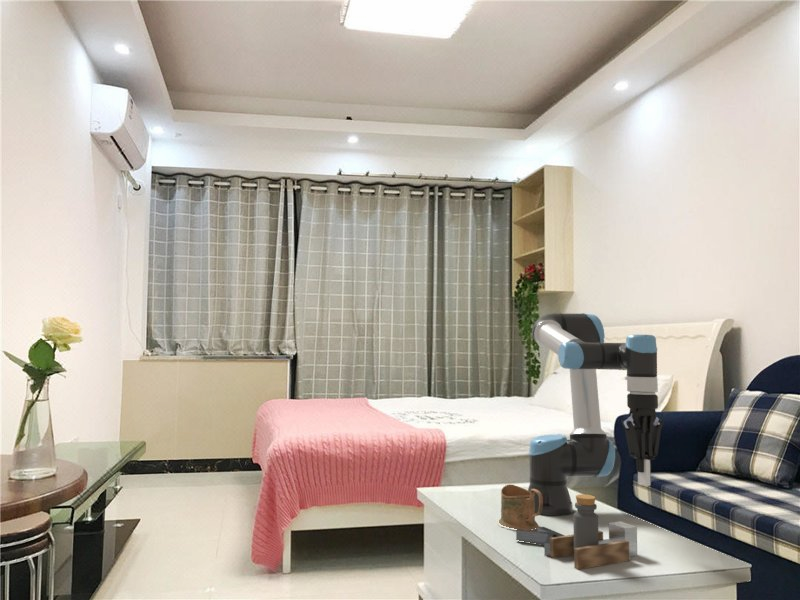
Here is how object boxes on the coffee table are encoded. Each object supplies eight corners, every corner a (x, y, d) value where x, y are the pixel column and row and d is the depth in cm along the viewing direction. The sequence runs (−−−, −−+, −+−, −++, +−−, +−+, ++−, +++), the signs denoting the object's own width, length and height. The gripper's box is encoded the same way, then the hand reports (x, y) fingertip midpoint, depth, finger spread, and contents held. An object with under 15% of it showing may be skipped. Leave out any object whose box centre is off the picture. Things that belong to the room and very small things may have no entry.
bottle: (584, 564, 147) (584, 500, 148) (568, 556, 152) (568, 494, 153) (604, 561, 149) (603, 498, 150) (587, 554, 154) (587, 492, 156)
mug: (523, 538, 166) (523, 493, 167) (490, 521, 183) (490, 480, 184) (559, 534, 171) (558, 490, 172) (523, 518, 187) (523, 478, 188)
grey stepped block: (620, 549, 159) (620, 521, 160) (637, 555, 154) (636, 526, 155) (591, 553, 155) (590, 525, 155) (606, 560, 150) (606, 531, 150)
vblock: (541, 537, 168) (541, 525, 168) (575, 552, 156) (575, 539, 156) (514, 540, 164) (514, 529, 165) (547, 556, 152) (546, 544, 152)
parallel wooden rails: (599, 548, 159) (599, 530, 159) (629, 560, 150) (629, 541, 150) (550, 556, 152) (550, 537, 153) (577, 569, 143) (577, 549, 144)
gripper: (649, 392, 168) (651, 480, 166) (613, 392, 163) (614, 483, 161) (671, 393, 162) (674, 485, 159) (634, 394, 156) (636, 489, 154)
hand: (644, 484), depth 160 cm, fingers closed
